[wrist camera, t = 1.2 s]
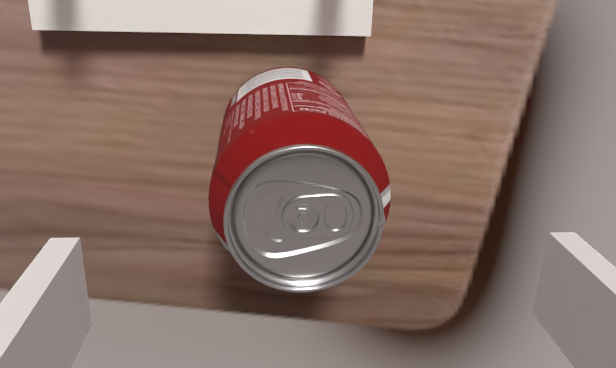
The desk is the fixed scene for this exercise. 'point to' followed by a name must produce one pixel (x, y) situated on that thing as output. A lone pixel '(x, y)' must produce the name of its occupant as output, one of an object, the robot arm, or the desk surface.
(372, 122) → the desk surface
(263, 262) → the soda can
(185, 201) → the desk surface
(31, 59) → the desk surface
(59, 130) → the desk surface
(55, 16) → the white pegged board
